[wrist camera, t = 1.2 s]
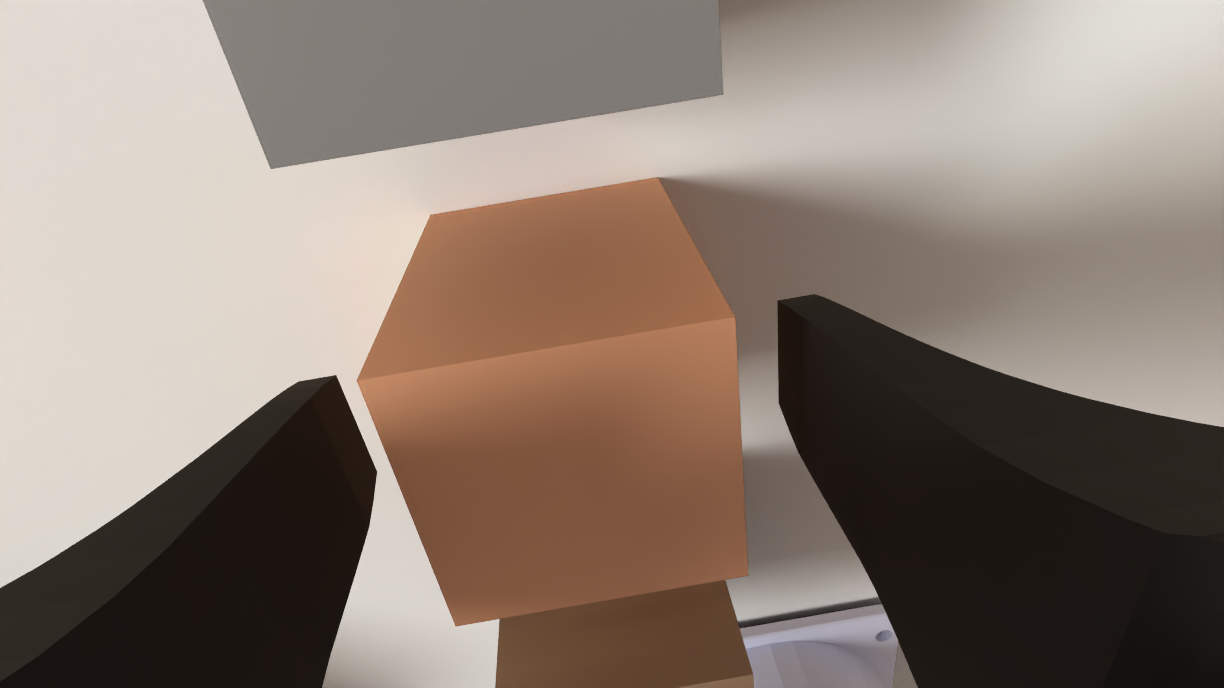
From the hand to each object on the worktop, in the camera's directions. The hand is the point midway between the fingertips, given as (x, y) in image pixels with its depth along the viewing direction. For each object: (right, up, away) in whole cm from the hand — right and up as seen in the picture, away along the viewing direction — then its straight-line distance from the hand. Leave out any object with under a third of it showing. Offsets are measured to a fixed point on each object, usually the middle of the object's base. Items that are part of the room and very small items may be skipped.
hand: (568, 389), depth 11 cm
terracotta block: (0, +2, +3) cm, 4 cm away
